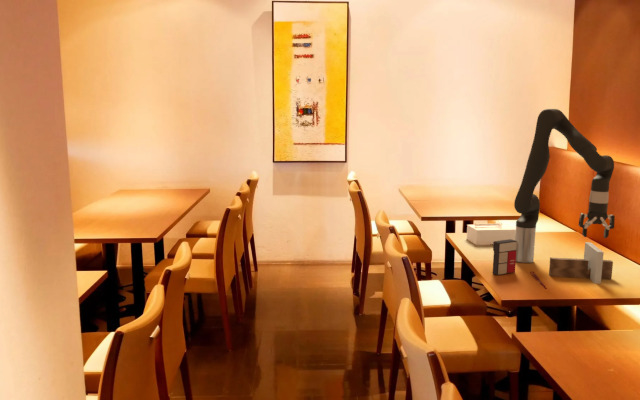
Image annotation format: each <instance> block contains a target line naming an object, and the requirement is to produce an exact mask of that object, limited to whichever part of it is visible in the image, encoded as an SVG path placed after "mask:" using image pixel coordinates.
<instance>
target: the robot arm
mask: <svg viewBox="0 0 640 400" xmlns="http://www.w3.org/2000/svg"><path fill="white" fill-rule="evenodd" d="M553 130H556V131H557V132H559V133H560V134H561V135H563V136H564V138H565V139H566V141H567V143H568V144H569V145H570V147H571V148H572V149H573V150H574V152H576V153H577V154H578V155H579V156H580V157H582V158H583V160H584V162H585V163H586V164H587V166H588V167H589V168H590V169H591V170H592V171H594V172H596V175H595V176H594V177H593V178H592V180H591V185H590V194H589V198H588V200H589V201H588V209H587V213H583V212H580V213H579V220H578V227H580V228H582V231H581V232H582V233H581V234H582V236H583V237H584V238H587V235H588V228H589V226H591V225H602V226H603V227H604V230H603V238H604V239H607V238H608V237H609V233H610V230H613V229H615V220H616V219H615V217H616V216H615V215H614V214H612V213H611V214H608V205H609V196H610V195H609V193H610V191H609V190H610V181H611V179H612V176H613V172H614V169H615V161H614V159H613V158H612V156H610V155H601V153H599V152H598V151H597V150H598V149H597V146H595V144H594V143H592V142H591V141H590V140H589V139H588V138H587V137H585V136H584V135H583V134H582V133H581V132H580V131H579V130H578V129H577V128H576V127H575V125H574V124H572V122H571V121H570V120H569V118H567V116H566V114H564V113H563V112H562V110H561V109H559V108H546V109H542V110H541V112H539V114H538V116H537V121H536V126H535V132H534V137H533V141H532V145H531V149H530V152H529V154H528V158H527V161H526V166H525V169H524V172H523V173H524V174H523V176H522V179H521V183H520V186H519V188H518V191H517V194H516V196H515V198H514V203H513V205H514V209H515V211H516V212H517V213H518V214H520V216H519V218H517V220H516V221H515V227H516V233H515V241H517V246H516V262H517V263H523V264H525V263H527V264H531V263H534V258H535V245H536V244H535V243H536V229H537V223H538V221H539V215H540V208H541V207H540V205H541V203H540V198H539V197H538V195H537V194H535V193H534V192H535V189H536V187H537V185H538V183H540V181H541V179H543V177H544V175H545V174H546V171H547V169H548V166H549V161H550V157H551V156H550V147H549V146H550V145H549V140H550V137H551V134H552V131H553ZM586 218H587V220H586V221H585V219H586ZM607 219H608V220H609V225H608V223H607V222H606V220H607ZM584 221H585V222H584Z"/></svg>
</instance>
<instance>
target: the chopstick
mask: <svg viewBox="0 0 640 400" xmlns="http://www.w3.org/2000/svg"><path fill="white" fill-rule="evenodd" d="M529 274H530V275H531V276H532V277H533V278H534V279H535V280H536V281H537V282H538V283H539V284H540V285H541V286H542V287H543V288H544V289H545V290H548V288H547V287H546V286H545V284H544V283H543V282H542V281H541V279H540V278H539V276H538V275H537V274H536V273H535V272H534V271H529Z"/></svg>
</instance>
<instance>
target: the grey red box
mask: <svg viewBox="0 0 640 400" xmlns="http://www.w3.org/2000/svg"><path fill="white" fill-rule="evenodd" d="M516 246H517V241H515V240H512V239H509V240H501V241H494V242H493V246H492V251H493V258H492V259H493V261H492V274H493V275H496V276H501V275H502V276H503V275H508V274H513V273H515V272H516V265H517V263H516Z"/></svg>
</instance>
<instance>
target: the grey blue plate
mask: <svg viewBox="0 0 640 400" xmlns="http://www.w3.org/2000/svg"><path fill="white" fill-rule="evenodd" d="M604 254H605V252H604V251H603V250H602V249H600V248H599V247H597V246H596V245H595V243H592V242H587V241H586V242H584V252H583V259H587V260H588V261H589V262H588V268H590V269H591V272H590V278H589V280H590V281H592V283H593V284H598V285H599V284H600V285H601V283H602V279H601V275H602V264H603V260H604Z"/></svg>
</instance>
